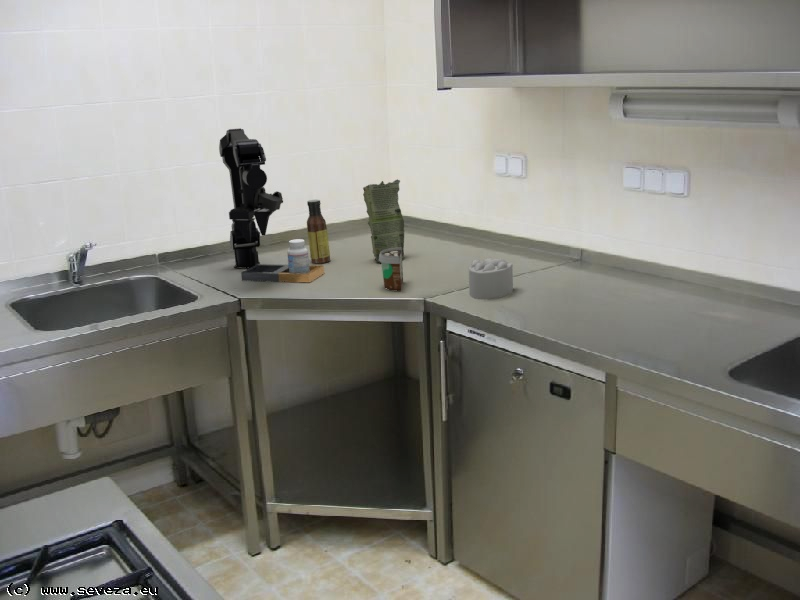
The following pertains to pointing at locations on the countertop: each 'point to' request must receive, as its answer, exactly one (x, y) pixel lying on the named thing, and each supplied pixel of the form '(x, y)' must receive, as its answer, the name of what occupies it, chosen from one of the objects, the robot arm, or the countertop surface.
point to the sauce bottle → (317, 233)
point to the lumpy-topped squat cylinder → (490, 278)
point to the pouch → (384, 216)
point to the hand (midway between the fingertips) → (256, 238)
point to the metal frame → (280, 273)
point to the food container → (392, 268)
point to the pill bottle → (298, 257)
